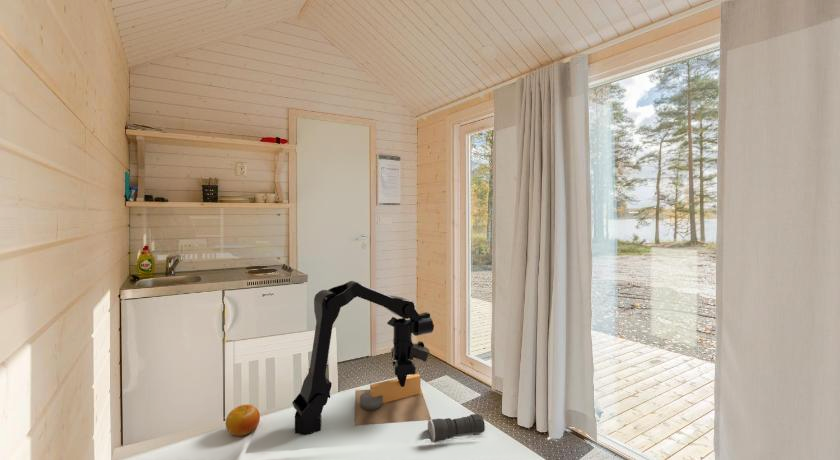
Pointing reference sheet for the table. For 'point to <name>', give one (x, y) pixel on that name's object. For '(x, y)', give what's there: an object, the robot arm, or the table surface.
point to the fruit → (242, 420)
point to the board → (392, 410)
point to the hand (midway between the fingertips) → (402, 386)
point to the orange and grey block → (389, 392)
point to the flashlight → (455, 426)
